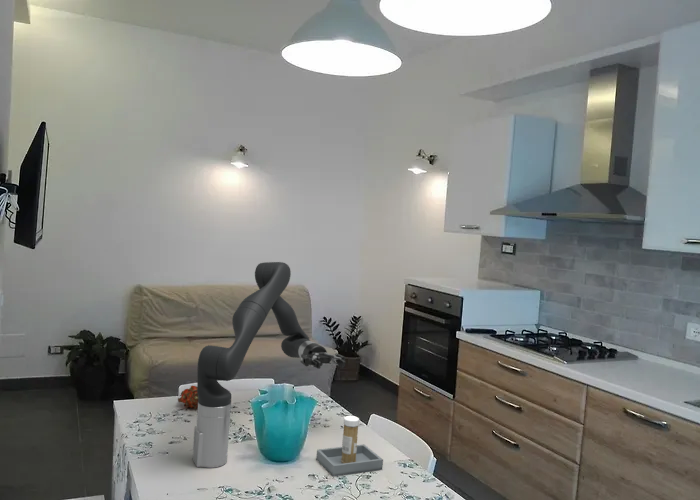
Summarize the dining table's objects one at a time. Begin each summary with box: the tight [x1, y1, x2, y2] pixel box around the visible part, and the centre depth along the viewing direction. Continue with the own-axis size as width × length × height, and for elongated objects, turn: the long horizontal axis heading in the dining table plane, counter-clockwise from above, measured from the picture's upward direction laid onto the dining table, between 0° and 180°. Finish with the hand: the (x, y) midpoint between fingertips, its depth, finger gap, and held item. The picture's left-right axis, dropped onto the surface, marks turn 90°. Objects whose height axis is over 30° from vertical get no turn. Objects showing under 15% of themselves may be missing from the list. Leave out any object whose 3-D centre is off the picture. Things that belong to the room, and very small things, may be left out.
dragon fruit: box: [177, 385, 198, 410], centre depth 212 cm, size 8×8×12 cm
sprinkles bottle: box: [341, 415, 360, 463], centre depth 172 cm, size 5×5×14 cm
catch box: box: [315, 444, 384, 477], centre depth 172 cm, size 16×12×3 cm
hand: (331, 365), depth 186 cm, fingers open, 8 cm apart
